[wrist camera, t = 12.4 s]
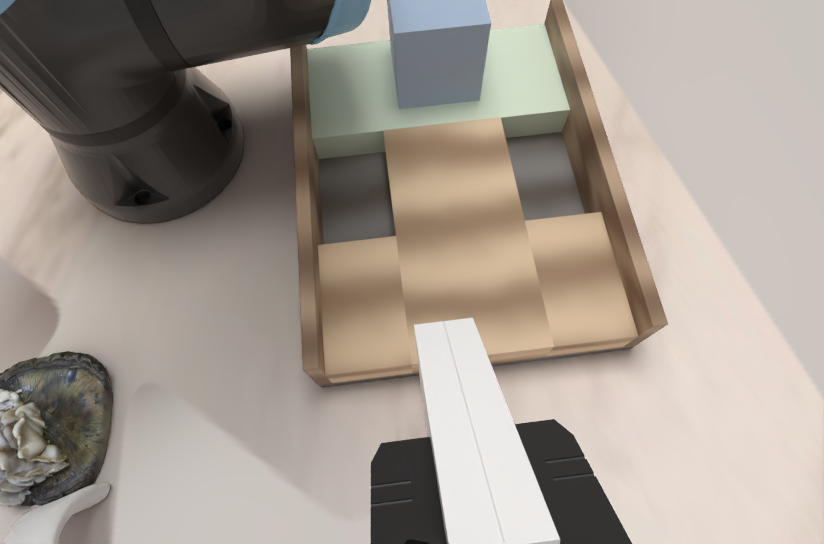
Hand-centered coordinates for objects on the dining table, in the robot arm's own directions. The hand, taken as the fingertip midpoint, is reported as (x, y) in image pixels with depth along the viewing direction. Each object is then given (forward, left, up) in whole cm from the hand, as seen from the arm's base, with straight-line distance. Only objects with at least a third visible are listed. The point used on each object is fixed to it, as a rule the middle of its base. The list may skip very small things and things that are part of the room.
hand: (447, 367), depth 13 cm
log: (-23, -16, -27) cm, 39 cm away
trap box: (-11, +17, -26) cm, 33 cm away
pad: (-18, +24, -26) cm, 40 cm away
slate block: (-19, +25, -22) cm, 38 cm away
